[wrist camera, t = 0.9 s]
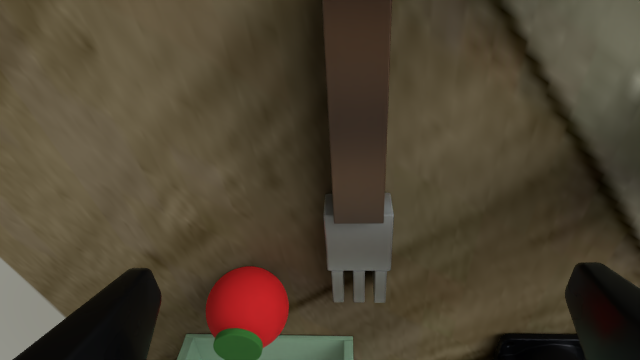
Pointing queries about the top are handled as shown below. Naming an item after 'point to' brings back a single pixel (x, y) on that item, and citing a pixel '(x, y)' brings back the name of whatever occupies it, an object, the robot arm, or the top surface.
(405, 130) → the top surface
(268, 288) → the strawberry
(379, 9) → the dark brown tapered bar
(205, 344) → the mint scoop tray
